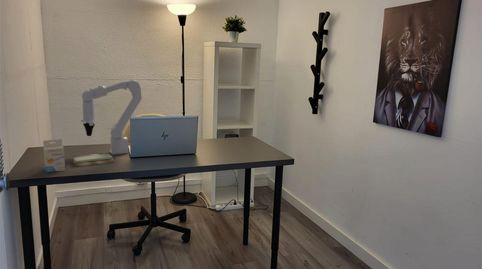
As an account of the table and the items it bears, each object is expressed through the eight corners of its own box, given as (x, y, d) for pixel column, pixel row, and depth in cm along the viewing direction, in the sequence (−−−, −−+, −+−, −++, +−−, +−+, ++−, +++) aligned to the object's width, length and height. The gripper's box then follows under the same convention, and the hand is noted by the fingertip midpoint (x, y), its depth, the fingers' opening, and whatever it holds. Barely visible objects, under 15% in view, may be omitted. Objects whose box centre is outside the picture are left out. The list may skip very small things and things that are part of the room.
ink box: (45, 172, 171) (43, 142, 168) (44, 169, 175) (42, 140, 172) (65, 170, 176) (63, 141, 173) (63, 167, 180) (62, 138, 177)
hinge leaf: (108, 155, 201) (107, 152, 201) (112, 159, 193) (112, 156, 193) (73, 159, 191) (72, 156, 191) (76, 163, 183) (75, 160, 183)
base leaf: (108, 156, 201) (107, 152, 201) (113, 162, 192) (113, 157, 191) (73, 160, 191) (72, 156, 191) (76, 166, 182) (76, 161, 182)
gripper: (78, 110, 205) (79, 133, 208) (83, 114, 193) (84, 139, 196) (91, 110, 209) (92, 132, 212) (97, 114, 197) (97, 138, 200)
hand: (89, 135), depth 204 cm, fingers closed
